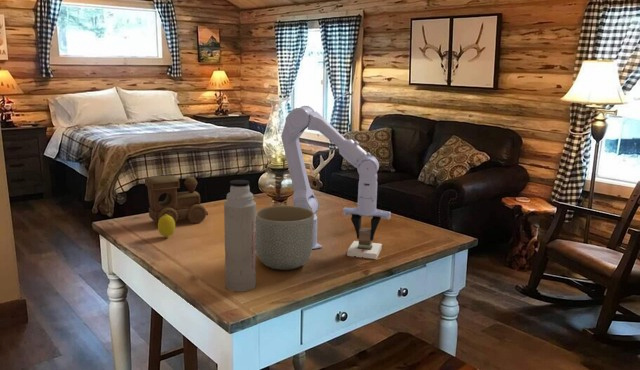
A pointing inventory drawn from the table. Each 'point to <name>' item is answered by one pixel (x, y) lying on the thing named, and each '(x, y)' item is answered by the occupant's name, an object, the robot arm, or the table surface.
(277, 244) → the planter
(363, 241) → the post
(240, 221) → the thermos bottle
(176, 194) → the wooden toy train
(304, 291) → the table surface
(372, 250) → the sleeve block
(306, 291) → the table surface
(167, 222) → the lemon
